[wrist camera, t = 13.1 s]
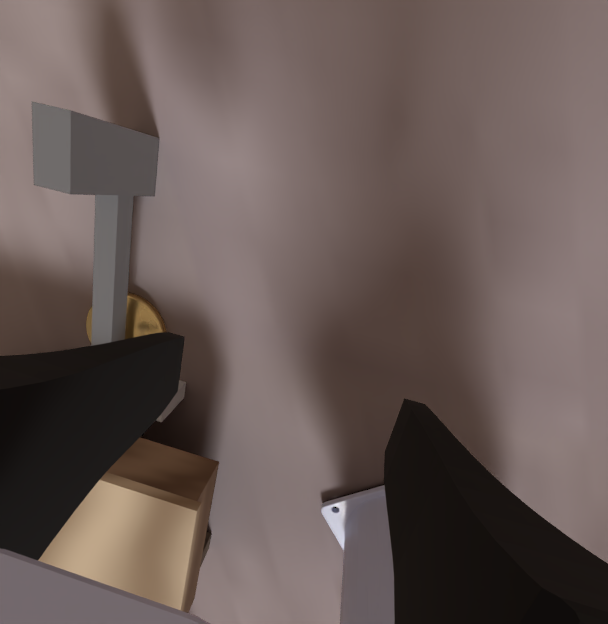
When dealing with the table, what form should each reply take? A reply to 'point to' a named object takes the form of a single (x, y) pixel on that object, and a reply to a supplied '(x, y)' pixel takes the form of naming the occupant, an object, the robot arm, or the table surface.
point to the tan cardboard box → (143, 525)
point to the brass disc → (136, 318)
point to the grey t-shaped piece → (100, 200)
